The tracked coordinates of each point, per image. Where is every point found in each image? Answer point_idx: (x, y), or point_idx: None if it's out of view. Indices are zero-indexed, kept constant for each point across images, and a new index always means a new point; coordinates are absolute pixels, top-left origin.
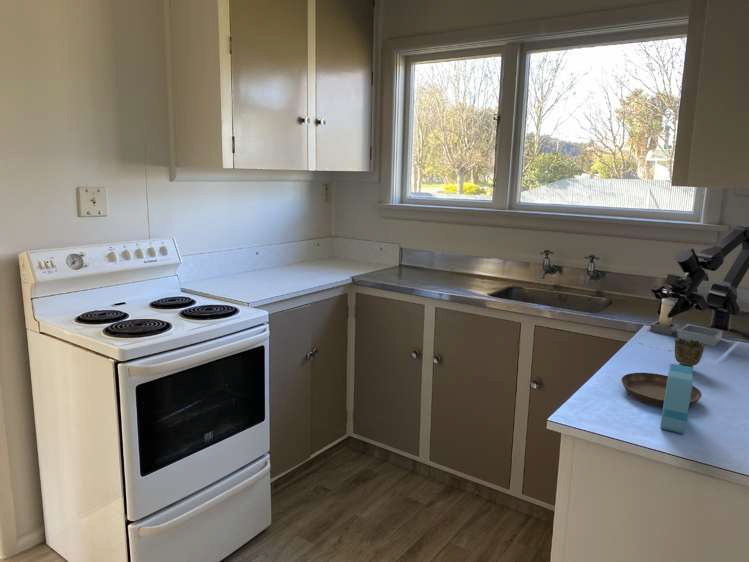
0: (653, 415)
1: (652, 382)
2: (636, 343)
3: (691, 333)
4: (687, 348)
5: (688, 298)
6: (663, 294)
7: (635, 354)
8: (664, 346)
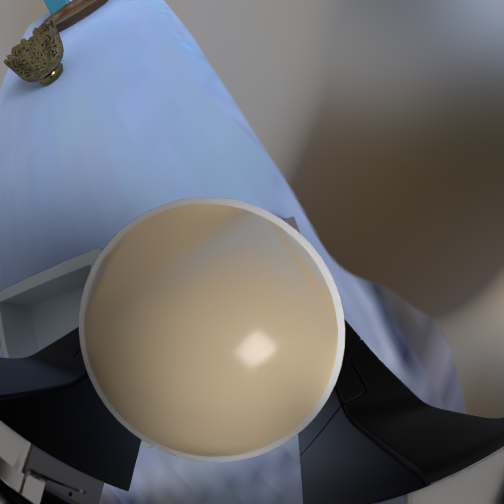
0: None
1: (87, 12)
2: (208, 81)
3: (53, 269)
4: (35, 34)
5: (3, 491)
6: (440, 445)
7: (156, 36)
8: (130, 142)
